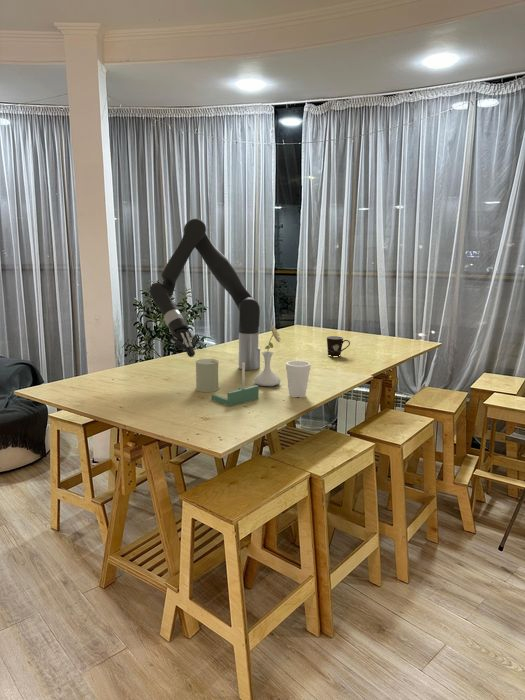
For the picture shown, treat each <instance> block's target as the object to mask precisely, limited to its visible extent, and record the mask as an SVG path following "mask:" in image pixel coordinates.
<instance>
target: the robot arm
mask: <svg viewBox="0 0 525 700" xmlns="http://www.w3.org/2000/svg"><path fill="white" fill-rule="evenodd" d="M194 249H196V251H197V252H198V253H199V255H200V256H201V258H202V260H203V261H204V263H205V264H206V267H207V268H208V269H209V271H210V273H211V274H212V275H213V276H214V278H215V280H216V281H218V283H219V284H220V286H221V287H222V288H223V289H224V290H226V292H227V293H228V295H230V297H231V298H232V299H233V301H234V304H235V305H236V307H237V309H238V311H239V323H238V324H239V325H238V369H240V370H242V363H245V371H253V370H257V369H260V368H261V348H260V347H259V339H260V338H259V333H260V332H259V331H260V330H259V329H260V318H261V317H260V316H261V315H260V311H261V308H260V305H259V302H258V301H257V300H256V299H255V298H254V297H253V296H252V295H251V294H250V292H248V290H247V289H246V288H245V286H244V285H243V283H242V281H241V279H240V278H239V276H238V274H237V272H236V270H235V269H234V267H233V265H232V263H230V261H229V260H228V258H227V257H226V256H225V255H224V254H223V253H222V252H221V251H220V250H219V249H218V248H217V247H216V246H215V245H214V244H213V243H212V241H211V240H210V238H209V237H208V235H207V226H206V224H205V222H204V221H203V220H202V219H199V218H191V219H190V220H188V221H187V222H186V223H185V224H184V227H183V236H182V238H181V240H180V242H179V244H178V246H177V248H176V249H175V251H174V253H173V254H172V255H171V257H170V258H169V259H168V262H167V263H166V265H165V267H164V269H163V271H162V272H161V278H162V280H163V281H162V283H161V282H154V283H152V284H151V286H150V287H149V295H150V297H151V299H152V300H153V302H154V303H155V305H156V306H157V308H159V310H160V313H161V315H162V316H163V317H162V318H164V322H165V324H166V326H167V328H168V330H169V332H170V333H171V336H172V338H171V339H170V340H169V341H170V344H172V345H173V346H175V347H177V348H178V349H179V350H184V351H185V352H186V355H187V356H188V357H189V358H193V357H194V356H195V355H196V352H195V350H194V346H196V343H197V339H198V338H197V337H198V335H197V334H192V333H191V331H190V330H189V326H188V324H187V322H186V321H185V319H184V317H183V315H182V313H181V312H180V310H179V308H178V306H177V304H176V303H175V302H174V301H173V299H172V296H173V295H174V291H175V288H176V287H175V286H176V283H177V281H178V278H179V276H180V275H181V273H182V272H183V270H184V268H185V266H186V264H187V261H188V260H189V258H190V256H191V254H192V252H193V250H194Z"/></svg>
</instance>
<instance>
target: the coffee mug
mask: <svg viewBox="0 0 525 700" xmlns="http://www.w3.org/2000/svg"><path fill="white" fill-rule="evenodd" d="M345 342H348V345H347V346H346V347H344V348H343V344H344V343H345ZM326 343H327V344H326V345H327V346H326V347H327V356H328V355H331V356H339V355H340V356H341V354H342V352H343V351H345V350H346V349H347V348H348V347H349V346H350V344H351V341H349V339H344V336H339V335H338V336H337V335H331V336H326Z"/></svg>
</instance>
